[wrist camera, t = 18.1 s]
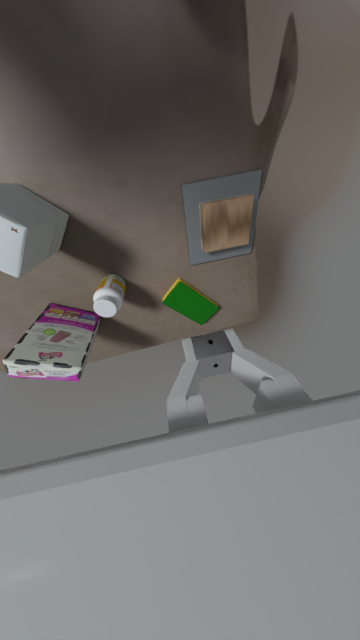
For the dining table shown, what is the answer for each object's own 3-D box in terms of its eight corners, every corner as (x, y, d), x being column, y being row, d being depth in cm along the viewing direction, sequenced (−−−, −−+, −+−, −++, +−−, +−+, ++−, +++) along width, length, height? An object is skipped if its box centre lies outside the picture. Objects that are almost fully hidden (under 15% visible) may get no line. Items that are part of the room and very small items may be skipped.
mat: (181, 185, 28) (181, 185, 27) (260, 169, 28) (262, 169, 27) (190, 264, 37) (190, 265, 36) (250, 252, 37) (251, 252, 36)
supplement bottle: (103, 294, 38) (92, 320, 31) (99, 272, 35) (85, 295, 27) (127, 295, 39) (122, 320, 32) (125, 274, 36) (119, 296, 28)
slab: (202, 204, 27) (254, 194, 27) (199, 203, 29) (247, 194, 29) (204, 252, 32) (248, 244, 33) (201, 249, 34) (242, 240, 35)
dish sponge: (178, 276, 38) (179, 281, 37) (217, 303, 45) (219, 308, 43) (161, 298, 42) (162, 303, 40) (200, 320, 48) (201, 325, 46)
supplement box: (16, 181, 25) (-71, 176, 15) (70, 215, 28) (29, 229, 18) (10, 226, 28) (-65, 246, 18) (59, 251, 31) (19, 280, 22)
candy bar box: (50, 318, 40) (5, 377, 27) (50, 301, 37) (-1, 359, 25) (99, 327, 44) (79, 383, 31) (102, 313, 41) (81, 368, 29)
